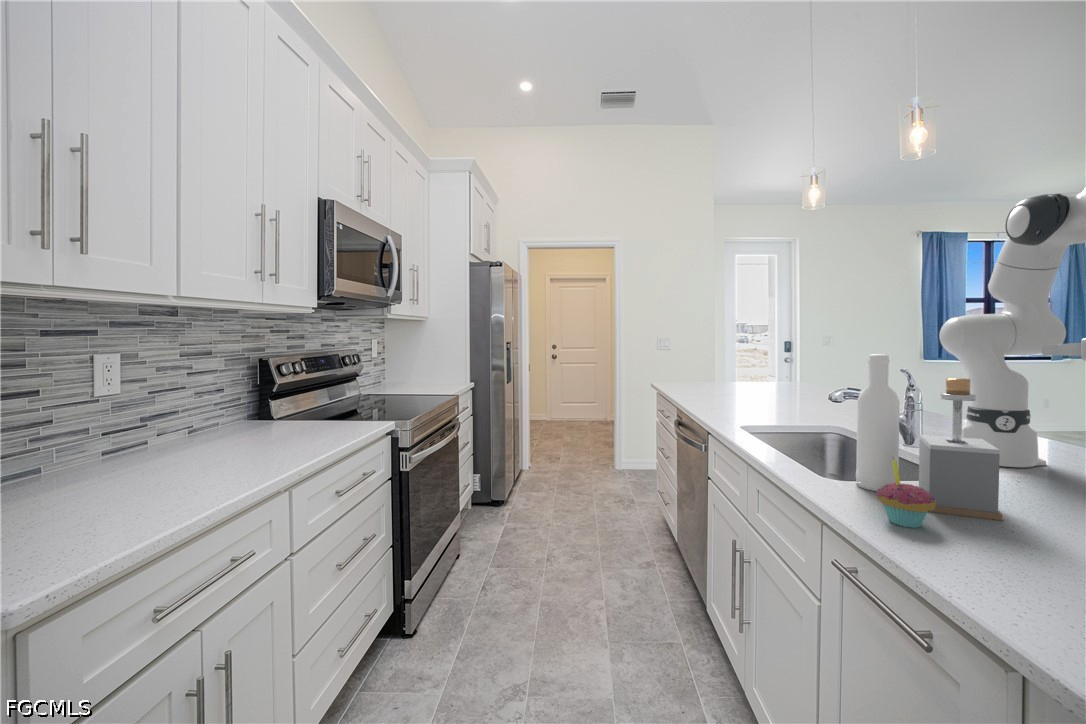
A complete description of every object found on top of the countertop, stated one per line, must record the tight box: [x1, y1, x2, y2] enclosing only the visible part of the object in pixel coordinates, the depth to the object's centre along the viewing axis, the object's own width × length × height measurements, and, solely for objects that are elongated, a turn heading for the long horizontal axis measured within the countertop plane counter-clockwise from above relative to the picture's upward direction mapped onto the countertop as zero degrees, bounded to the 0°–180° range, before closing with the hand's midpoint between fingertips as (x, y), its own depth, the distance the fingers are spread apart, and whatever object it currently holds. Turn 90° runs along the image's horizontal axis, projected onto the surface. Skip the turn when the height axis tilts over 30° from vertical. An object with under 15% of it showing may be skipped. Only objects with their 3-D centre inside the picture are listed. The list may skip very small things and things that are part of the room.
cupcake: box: [875, 456, 936, 529], centre depth 86 cm, size 9×8×12 cm
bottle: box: [855, 353, 901, 492], centre depth 106 cm, size 8×8×30 cm
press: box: [918, 434, 1004, 521], centre depth 94 cm, size 11×11×13 cm
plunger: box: [940, 377, 976, 444], centre depth 93 cm, size 8×8×18 cm
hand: (1045, 350), depth 84 cm, fingers open, 8 cm apart
